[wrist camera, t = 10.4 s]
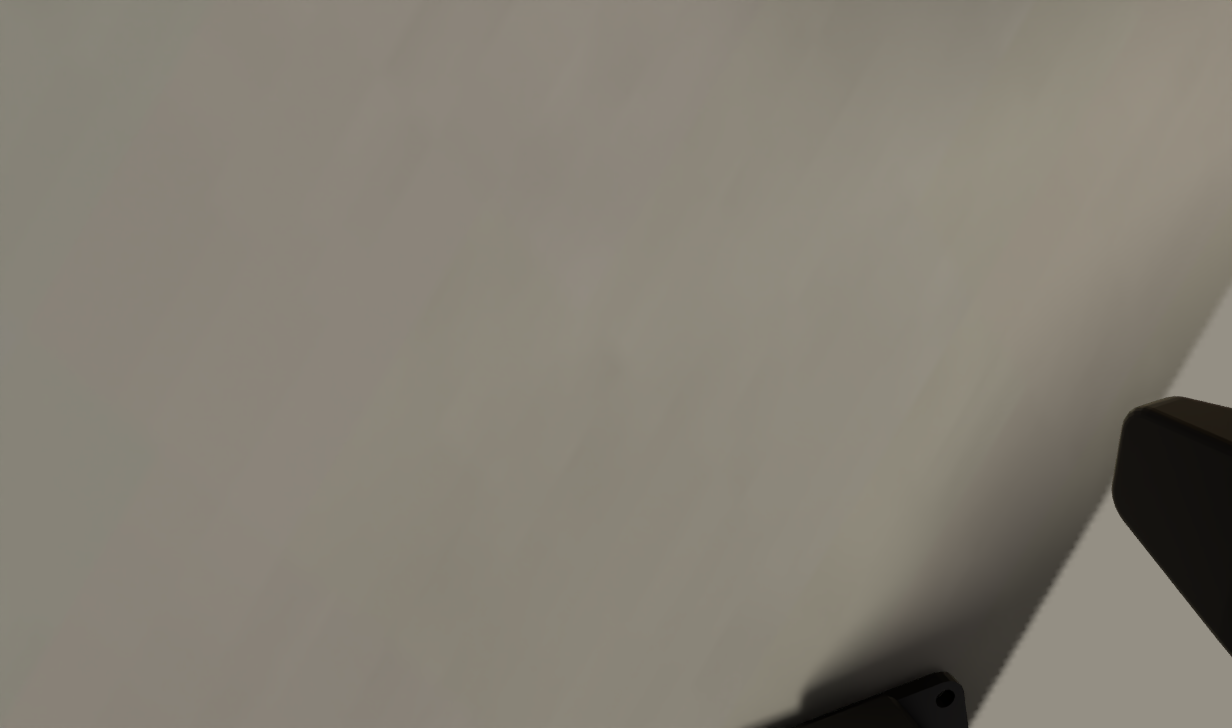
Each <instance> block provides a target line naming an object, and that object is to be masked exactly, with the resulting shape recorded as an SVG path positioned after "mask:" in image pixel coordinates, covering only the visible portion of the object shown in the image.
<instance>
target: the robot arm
mask: <svg viewBox="0 0 1232 728" xmlns="http://www.w3.org/2000/svg"><path fill="white" fill-rule="evenodd" d="M1112 497H1113V501H1114V504H1115V507H1116V509H1117V511H1118V513H1119V515H1120V517H1121V518H1122V519H1123V521H1124V522H1125V523H1126V525H1127V526H1128V527H1129V528H1130V530H1131V531H1132V532H1133V533H1134V535H1135V536H1136V537H1137V539H1139V541H1140V542H1141V544H1142V545H1143V546H1144V547H1145V549H1146V550H1147V551H1148V552H1149V554H1150V555H1151V556H1152V557H1153V559H1154V560H1155V561H1156V562H1157V564H1158V565H1159V566H1160V568H1161V569H1162V570H1163V571H1164V573H1165V574H1166V575H1167V576H1168V577H1169V579H1170V580H1171V581H1172V583H1173V584H1174V585H1175V587H1176V588H1177V589H1178V590H1179V592H1180V593H1181V594H1182V595H1183V597H1184V598H1185V599H1186V600H1187V602H1188V603H1189V604H1190V605H1191V607H1192V608H1193V609H1194V610H1195V612H1196V613H1197V614H1198V616H1199V617H1200V618H1201V619H1202V621H1203V622H1204V623H1205V624H1206V626H1207V627H1208V628H1209V629H1210V630H1211V632H1212V633H1213V634H1214V635H1215V637H1216V638H1217V640H1218V641H1219V642H1220V643H1221V644H1222V646H1223V647H1224V648H1225V649H1226V650H1227V652H1228V653H1229V654H1230V655H1231V656H1232V408H1229V407H1224V406H1220V405H1216V404H1211V403H1207V402H1203V401H1198V400H1194V399H1190V398H1186V397H1179V396H1173V397H1167V398H1163V399H1160V400H1157V401H1154V402H1151V403H1148V404H1145V405H1142V406H1139V407H1136V408H1134V409H1133V410H1131V411H1130V412H1129V413H1128V415H1127V416H1126V417H1125V419H1124V421H1123V425H1122V429H1121V435H1120V441H1119V447H1118V453H1117V458H1116V464H1115V470H1114V476H1113V482H1112ZM944 690H945V691H944ZM942 691H944V693H943V694H942V695H941V696H939V697H937V696H938V695H939V693H941V692H942ZM792 728H968V721H967V713H966V705H965V697H964V691H963V688H962V686H961V685H960V684H959V683H958V682H957V680H956V679H955V678H954V677H953V676H952V675H950V674H949V673H948V672H942V671H941V672H936V673H933V674H930V675H927V676H925V677H922V678H920V679H917V680H914V681H912V682H909V683H907V684H904V685H901V686H899V687H896V688H894V689H891V690H888V691H886V692H883V693H881V694H878V695H875V696H873V697H870V698H868V699H865V700H862V701H860V702H857V703H855V704H852V705H849V706H847V707H844V708H841V709H839V710H836V711H834V712H831V713H828V714H826V715H823V716H821V717H818V718H815V719H813V720H810V721H808V722H805V723H802V724H800V725H797V726H795V727H792Z"/></svg>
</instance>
